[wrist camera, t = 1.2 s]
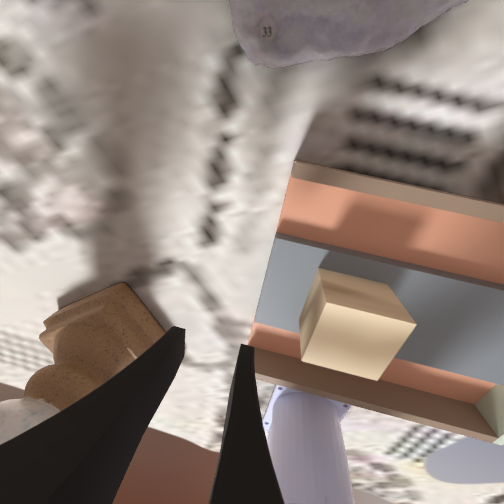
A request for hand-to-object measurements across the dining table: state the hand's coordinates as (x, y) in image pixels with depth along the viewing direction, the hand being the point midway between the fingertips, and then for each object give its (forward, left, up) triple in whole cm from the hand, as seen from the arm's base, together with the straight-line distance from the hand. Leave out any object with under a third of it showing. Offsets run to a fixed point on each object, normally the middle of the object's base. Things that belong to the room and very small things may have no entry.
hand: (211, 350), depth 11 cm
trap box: (0, -13, -8) cm, 15 cm away
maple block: (0, -8, -7) cm, 11 cm away
